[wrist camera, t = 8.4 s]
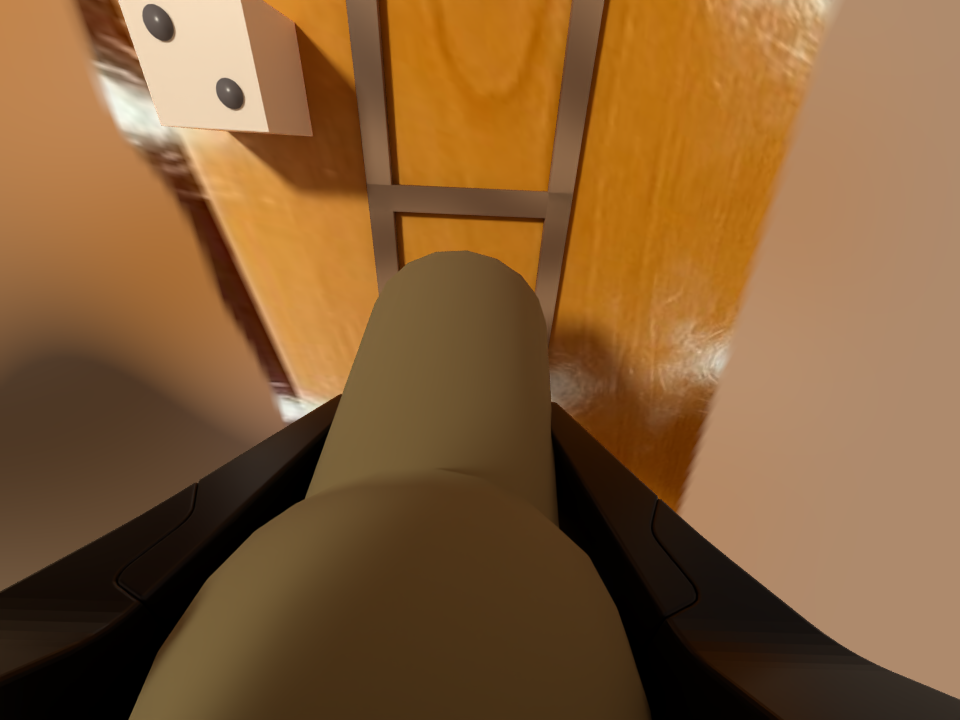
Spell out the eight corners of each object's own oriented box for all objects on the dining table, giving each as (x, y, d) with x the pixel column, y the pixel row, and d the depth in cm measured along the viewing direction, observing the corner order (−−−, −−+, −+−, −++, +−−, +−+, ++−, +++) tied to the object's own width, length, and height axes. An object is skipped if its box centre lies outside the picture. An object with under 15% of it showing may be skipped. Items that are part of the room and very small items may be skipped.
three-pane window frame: (544, 364, 23) (545, 368, 22) (387, 358, 23) (386, 361, 22) (702, -631, 8) (711, -665, 8) (276, -664, 8) (267, -700, 8)
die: (313, 136, 17) (267, 131, 13) (228, 131, 17) (159, 125, 13) (295, 23, 15) (235, -19, 11) (198, 16, 14) (107, -27, 11)
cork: (564, 261, 11) (1225, 1087, 1) (529, 415, 14) (634, 1000, 4) (366, 239, 10) (-896, 1081, 1) (374, 401, 13) (106, 993, 4)
